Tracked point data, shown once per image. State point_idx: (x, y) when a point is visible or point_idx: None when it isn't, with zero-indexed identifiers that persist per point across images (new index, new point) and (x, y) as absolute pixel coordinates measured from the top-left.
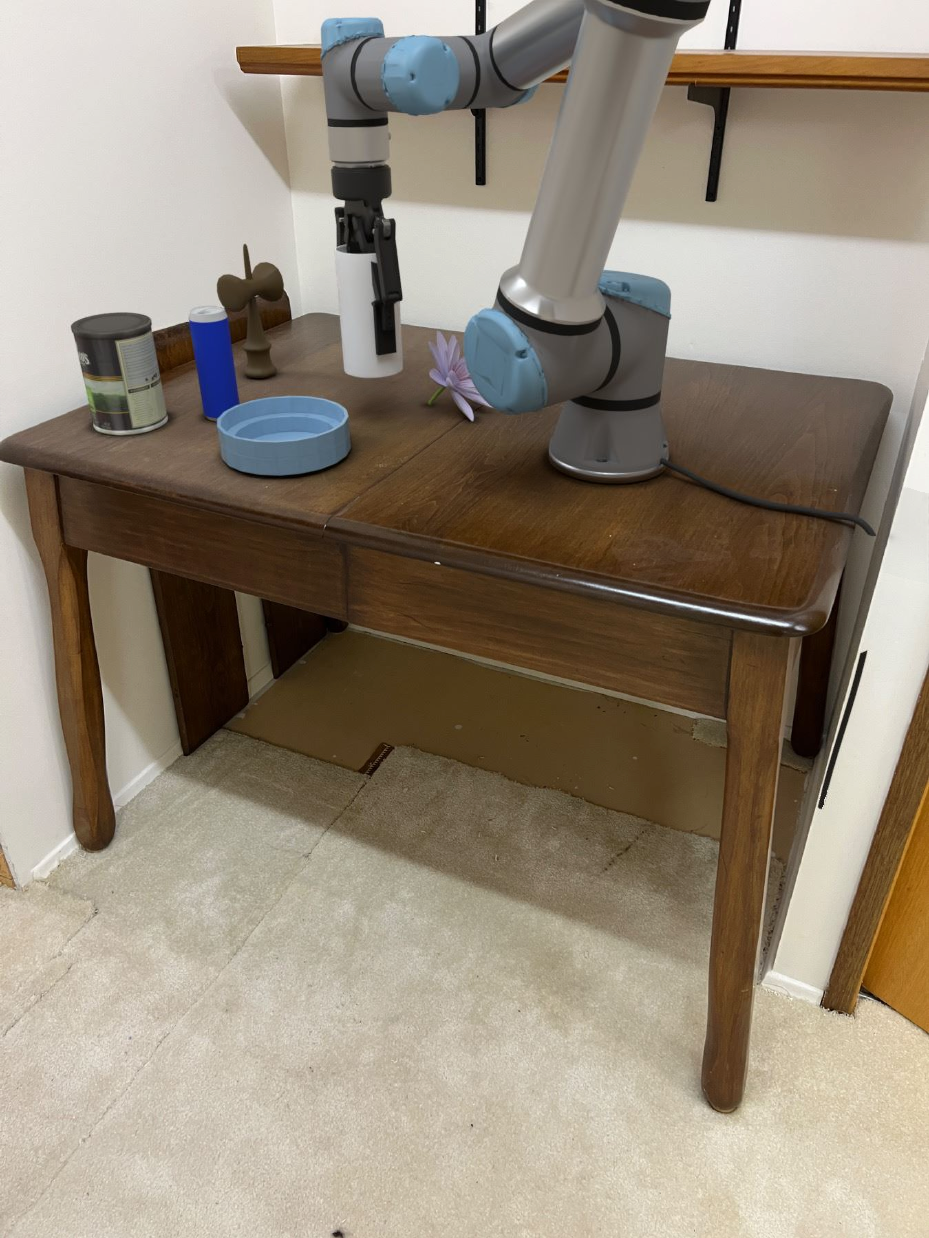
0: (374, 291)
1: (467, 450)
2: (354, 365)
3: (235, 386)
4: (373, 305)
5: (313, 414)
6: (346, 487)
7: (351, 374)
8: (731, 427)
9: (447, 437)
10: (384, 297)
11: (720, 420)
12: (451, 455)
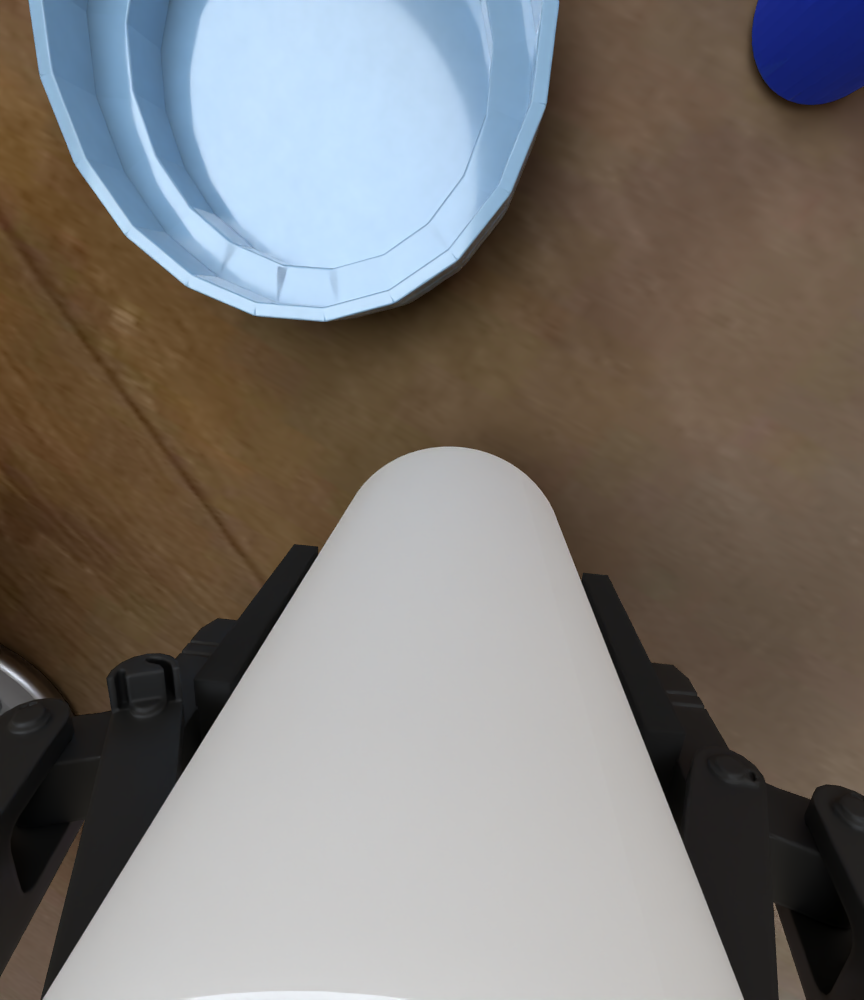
0: (162, 753)
1: (129, 548)
2: (399, 467)
3: (829, 31)
4: (147, 658)
5: (428, 261)
6: (17, 149)
7: (424, 450)
8: (44, 948)
9: (225, 558)
10: (10, 728)
11: None
12: (116, 502)
